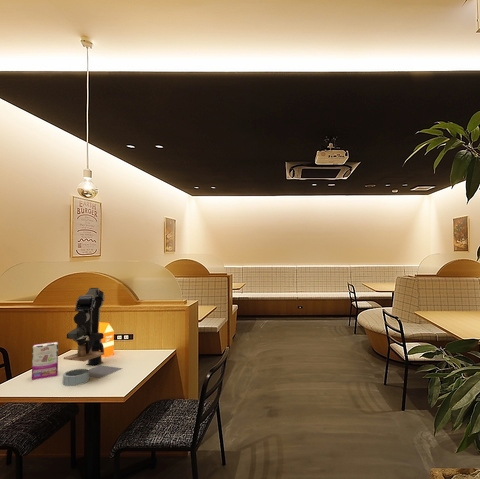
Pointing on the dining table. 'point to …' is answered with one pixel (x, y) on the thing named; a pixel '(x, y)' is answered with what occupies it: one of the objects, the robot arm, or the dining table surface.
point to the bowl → (75, 377)
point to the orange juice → (107, 338)
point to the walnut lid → (84, 354)
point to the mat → (102, 371)
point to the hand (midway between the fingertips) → (84, 353)
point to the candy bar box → (44, 360)
